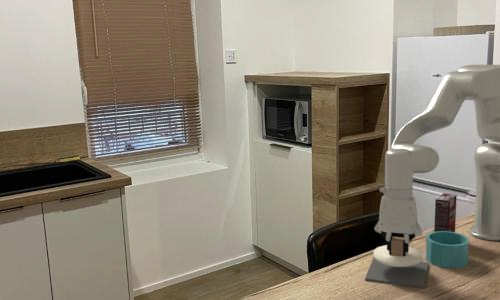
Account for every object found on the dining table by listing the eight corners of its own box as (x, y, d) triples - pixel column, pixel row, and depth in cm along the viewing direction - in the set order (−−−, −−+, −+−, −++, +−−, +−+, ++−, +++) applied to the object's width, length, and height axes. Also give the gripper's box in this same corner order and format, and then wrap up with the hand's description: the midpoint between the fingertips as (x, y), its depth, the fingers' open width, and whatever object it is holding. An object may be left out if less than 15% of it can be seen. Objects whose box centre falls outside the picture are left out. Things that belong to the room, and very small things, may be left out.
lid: (377, 248, 150) (377, 228, 149) (423, 254, 145) (424, 233, 143) (369, 266, 138) (369, 245, 137) (420, 273, 132) (421, 250, 131)
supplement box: (448, 248, 157) (449, 201, 154) (433, 245, 160) (434, 199, 157) (455, 239, 164) (457, 194, 161) (440, 237, 166) (442, 192, 163)
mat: (374, 258, 152) (374, 256, 152) (428, 264, 146) (428, 262, 146) (365, 280, 138) (365, 278, 138) (424, 288, 132) (424, 286, 132)
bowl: (427, 250, 156) (427, 229, 155) (467, 254, 152) (468, 233, 150) (424, 265, 146) (425, 243, 144) (468, 270, 141) (469, 247, 140)
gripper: (366, 194, 137) (366, 255, 141) (428, 198, 131) (426, 262, 134) (371, 187, 144) (371, 245, 148) (430, 191, 138) (428, 252, 141)
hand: (397, 253), depth 141 cm, fingers closed on lid, 3 cm apart
